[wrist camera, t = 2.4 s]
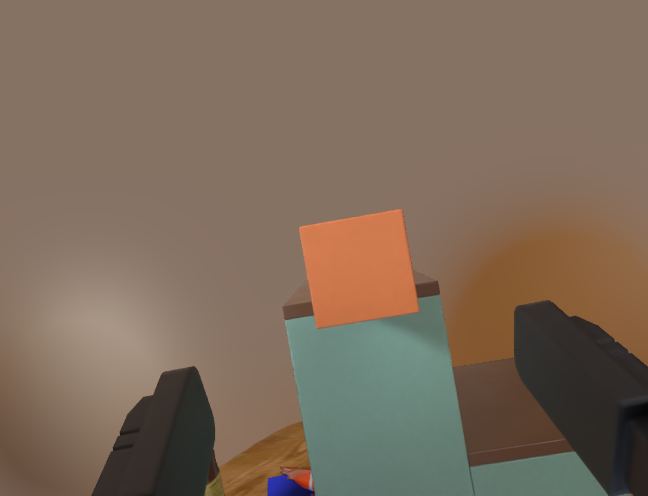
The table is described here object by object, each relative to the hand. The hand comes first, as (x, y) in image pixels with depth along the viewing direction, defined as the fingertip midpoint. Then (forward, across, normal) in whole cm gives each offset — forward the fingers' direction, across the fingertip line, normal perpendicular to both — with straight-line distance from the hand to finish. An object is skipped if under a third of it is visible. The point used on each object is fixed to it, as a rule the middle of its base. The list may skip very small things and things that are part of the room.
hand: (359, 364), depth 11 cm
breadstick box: (+16, -2, +6) cm, 17 cm away
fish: (+37, +7, +49) cm, 62 cm away
